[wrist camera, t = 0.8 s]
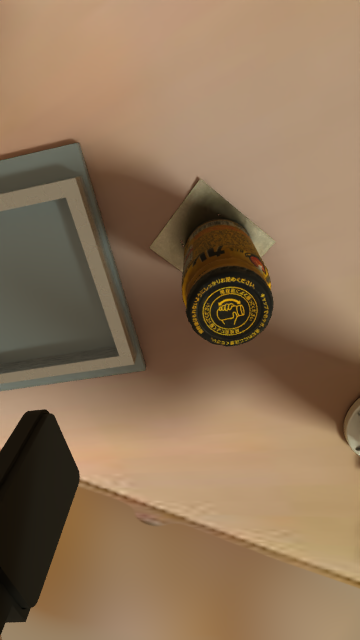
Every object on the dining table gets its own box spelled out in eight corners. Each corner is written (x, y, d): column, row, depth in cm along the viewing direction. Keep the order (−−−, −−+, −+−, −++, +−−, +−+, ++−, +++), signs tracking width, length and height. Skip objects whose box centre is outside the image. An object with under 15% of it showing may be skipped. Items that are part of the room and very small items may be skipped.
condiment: (221, 300, 33) (234, 376, 23) (149, 247, 31) (126, 305, 20) (275, 241, 30) (318, 297, 20) (200, 178, 28) (204, 203, 18)
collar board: (146, 367, 37) (143, 382, 35) (-6, 388, 39) (-19, 404, 37) (79, 142, 27) (68, 143, 25) (-121, 188, 29) (-147, 193, 27)
